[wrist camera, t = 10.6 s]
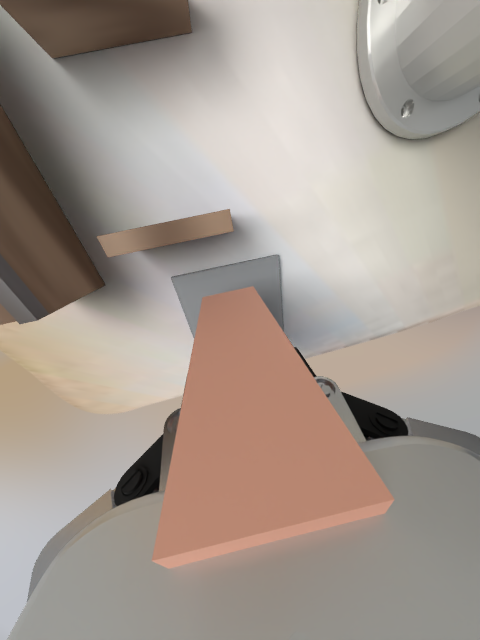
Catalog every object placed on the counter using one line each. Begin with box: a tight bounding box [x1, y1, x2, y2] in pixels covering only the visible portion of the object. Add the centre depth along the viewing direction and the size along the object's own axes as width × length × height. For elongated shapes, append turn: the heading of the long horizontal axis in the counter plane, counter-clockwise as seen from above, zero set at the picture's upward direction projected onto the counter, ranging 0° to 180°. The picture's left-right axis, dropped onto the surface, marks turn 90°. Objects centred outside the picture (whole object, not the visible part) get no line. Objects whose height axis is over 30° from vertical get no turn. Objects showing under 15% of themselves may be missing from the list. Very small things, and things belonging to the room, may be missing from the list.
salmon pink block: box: [152, 286, 395, 569], centre depth 10 cm, size 4×7×12 cm, turn 10°
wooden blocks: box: [0, 0, 233, 325], centre depth 9 cm, size 16×16×7 cm
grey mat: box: [171, 255, 284, 339], centre depth 18 cm, size 10×9×1 cm
